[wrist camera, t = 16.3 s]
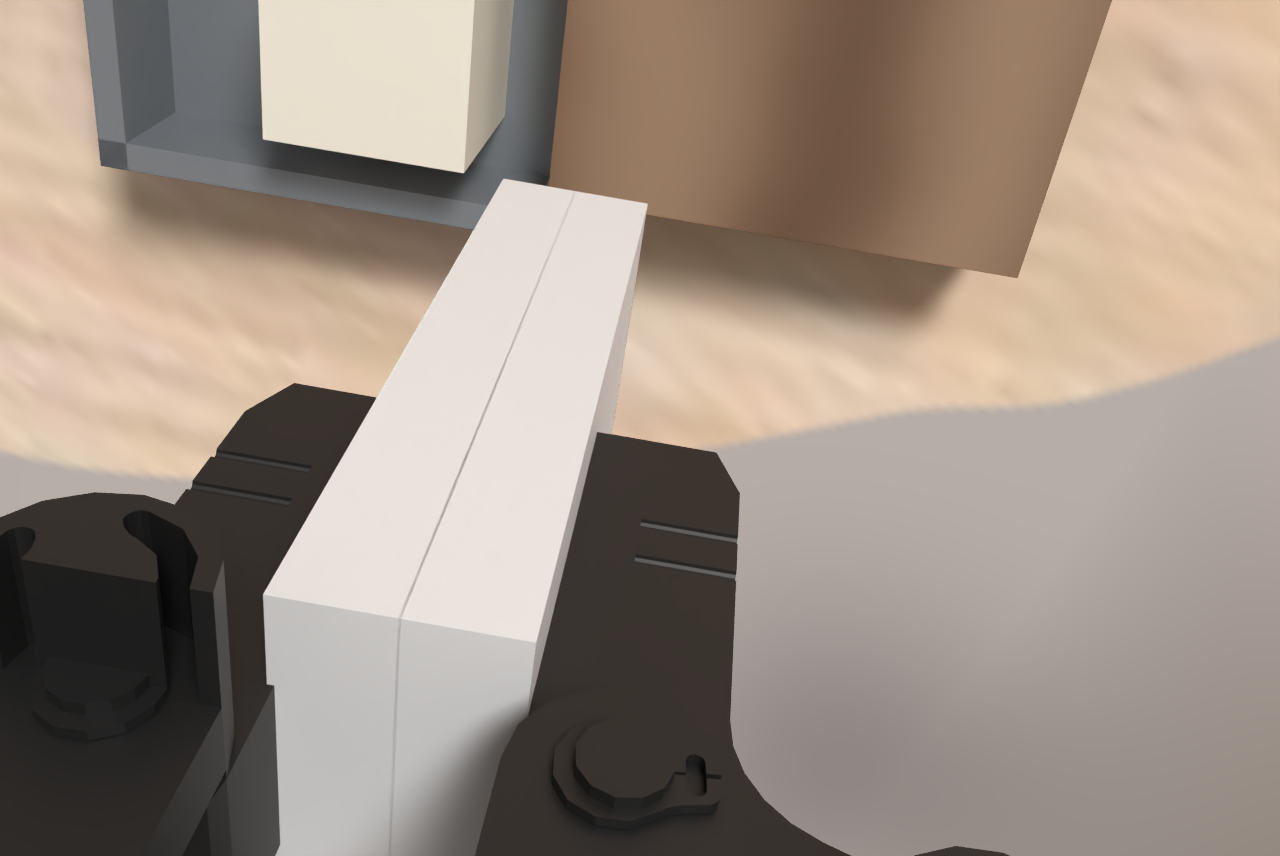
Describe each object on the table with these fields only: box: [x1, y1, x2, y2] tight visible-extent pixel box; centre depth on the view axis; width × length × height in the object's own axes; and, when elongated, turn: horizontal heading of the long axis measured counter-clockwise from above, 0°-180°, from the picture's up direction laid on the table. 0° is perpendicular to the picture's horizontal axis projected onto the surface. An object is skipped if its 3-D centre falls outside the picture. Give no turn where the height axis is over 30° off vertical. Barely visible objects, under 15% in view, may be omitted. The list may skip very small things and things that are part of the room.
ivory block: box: [258, 0, 514, 173], centre depth 23 cm, size 4×4×4 cm
